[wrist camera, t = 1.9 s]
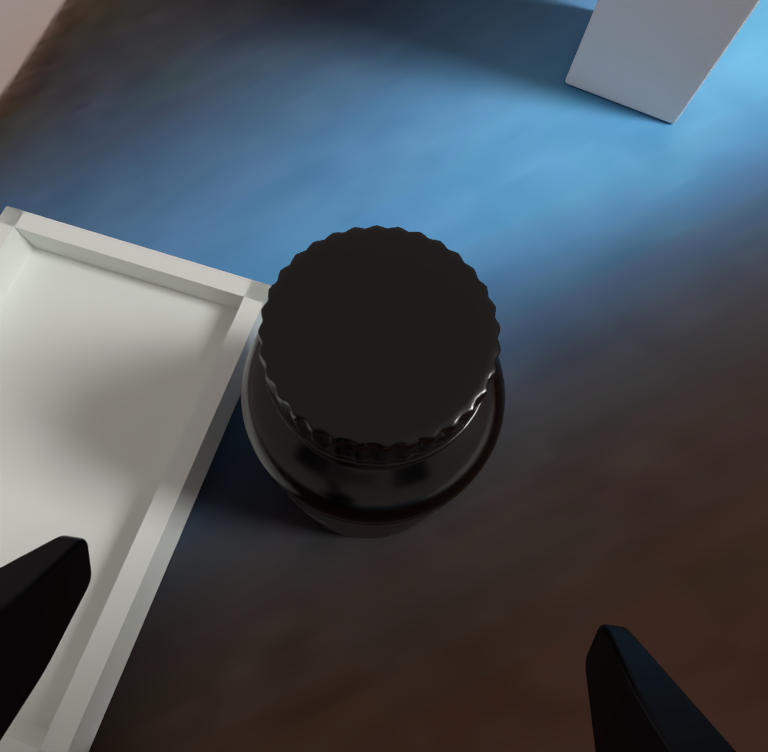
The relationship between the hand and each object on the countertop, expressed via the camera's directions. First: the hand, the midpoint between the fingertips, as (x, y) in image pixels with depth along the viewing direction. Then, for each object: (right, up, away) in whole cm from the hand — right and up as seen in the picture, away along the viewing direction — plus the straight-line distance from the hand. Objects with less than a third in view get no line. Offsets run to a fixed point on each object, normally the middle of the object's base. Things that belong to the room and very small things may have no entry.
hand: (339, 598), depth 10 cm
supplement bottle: (0, +1, +13) cm, 13 cm away
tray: (-12, +1, +12) cm, 17 cm away
